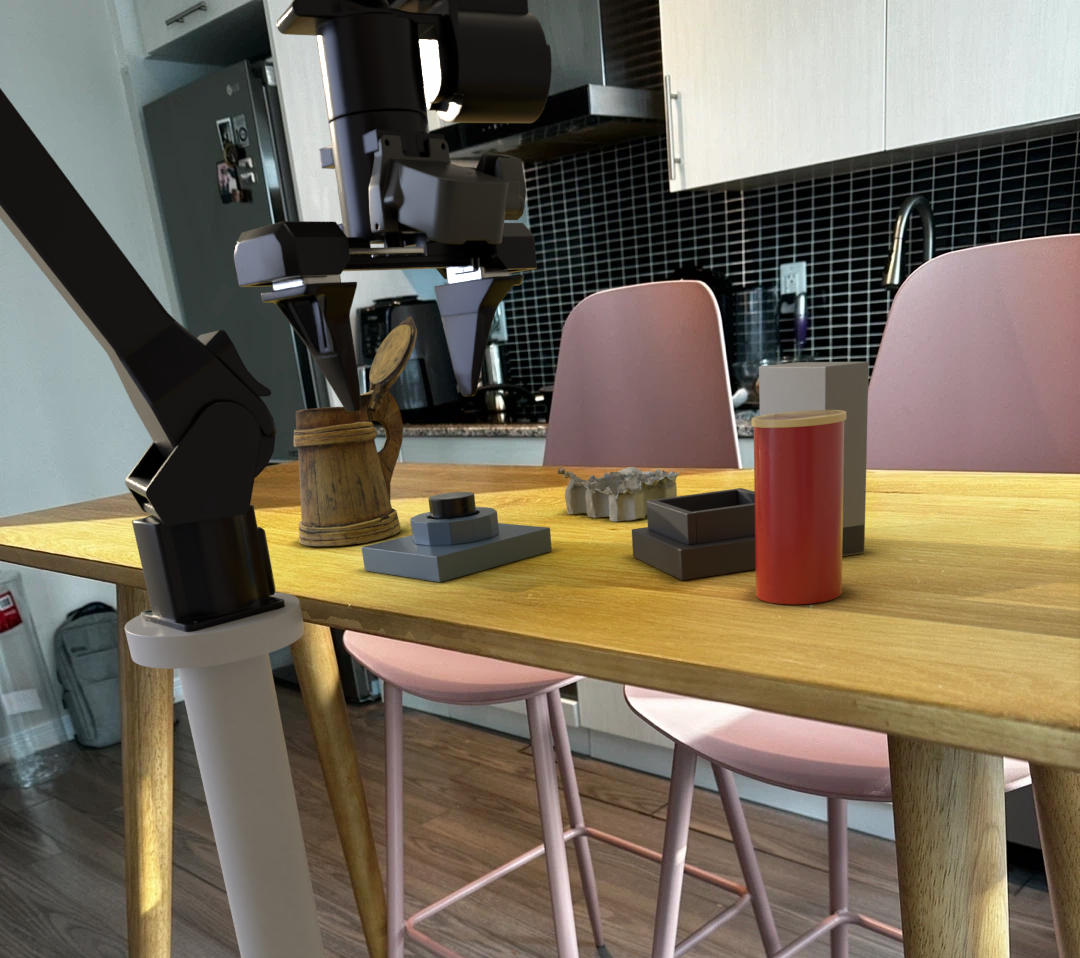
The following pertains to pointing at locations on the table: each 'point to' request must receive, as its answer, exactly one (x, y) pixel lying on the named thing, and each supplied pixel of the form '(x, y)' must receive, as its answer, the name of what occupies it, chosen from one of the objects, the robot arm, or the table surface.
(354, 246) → the robot arm
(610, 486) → the egg carton
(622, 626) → the table surface
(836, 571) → the red cylinder
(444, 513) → the button
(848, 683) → the table surface
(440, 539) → the control pad
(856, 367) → the coffee maker
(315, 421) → the wooden mug
